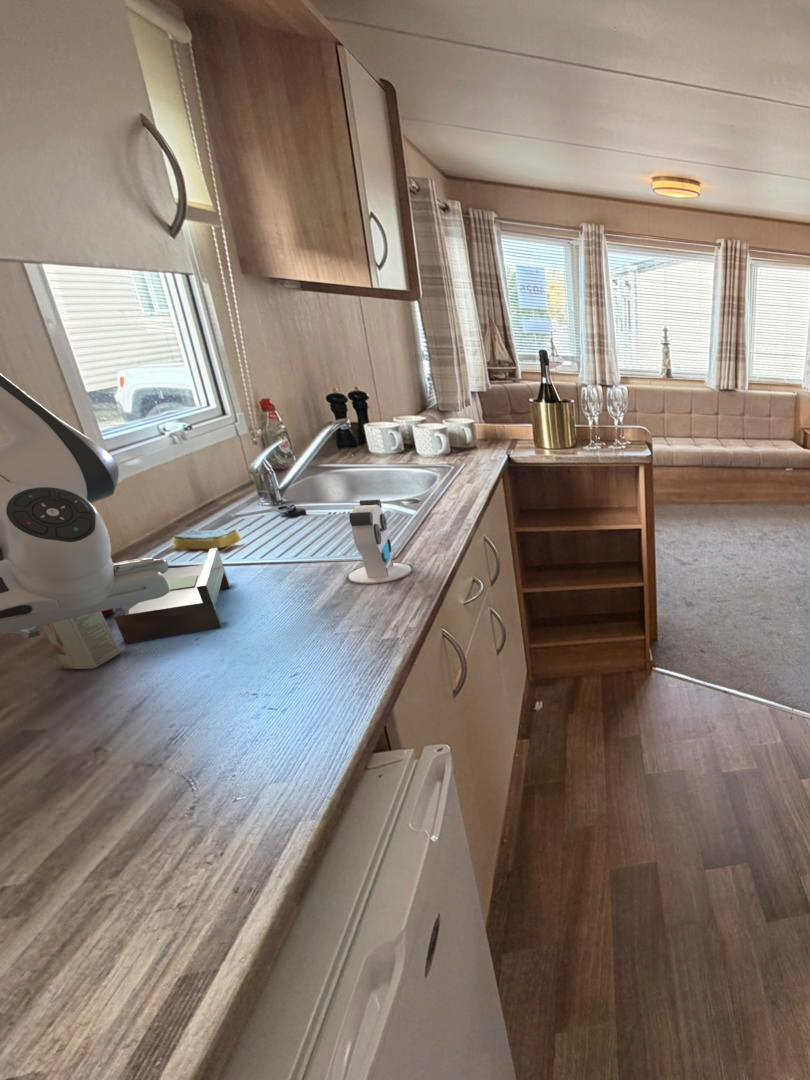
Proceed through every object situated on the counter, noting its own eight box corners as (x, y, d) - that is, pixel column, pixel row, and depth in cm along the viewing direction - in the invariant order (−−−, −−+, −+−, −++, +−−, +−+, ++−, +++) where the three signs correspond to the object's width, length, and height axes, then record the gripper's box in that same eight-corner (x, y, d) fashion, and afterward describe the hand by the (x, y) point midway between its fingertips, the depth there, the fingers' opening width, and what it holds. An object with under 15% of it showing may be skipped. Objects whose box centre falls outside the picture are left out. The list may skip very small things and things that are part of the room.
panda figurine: (406, 581, 132) (391, 512, 126) (342, 587, 128) (323, 515, 122) (414, 562, 143) (401, 497, 136) (355, 566, 139) (338, 499, 132)
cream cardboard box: (91, 653, 101) (65, 595, 97) (122, 653, 101) (97, 595, 97) (60, 670, 96) (31, 610, 92) (92, 669, 97) (64, 609, 93)
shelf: (125, 644, 104) (106, 599, 101) (147, 597, 120) (131, 557, 117) (221, 627, 111) (206, 585, 108) (230, 585, 127) (217, 547, 124)
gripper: (157, 538, 94) (158, 583, 103) (-64, 578, 78) (-40, 627, 87) (178, 573, 94) (178, 615, 103) (-39, 620, 78) (-18, 665, 87)
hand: (76, 621), depth 95 cm, fingers open, 8 cm apart
